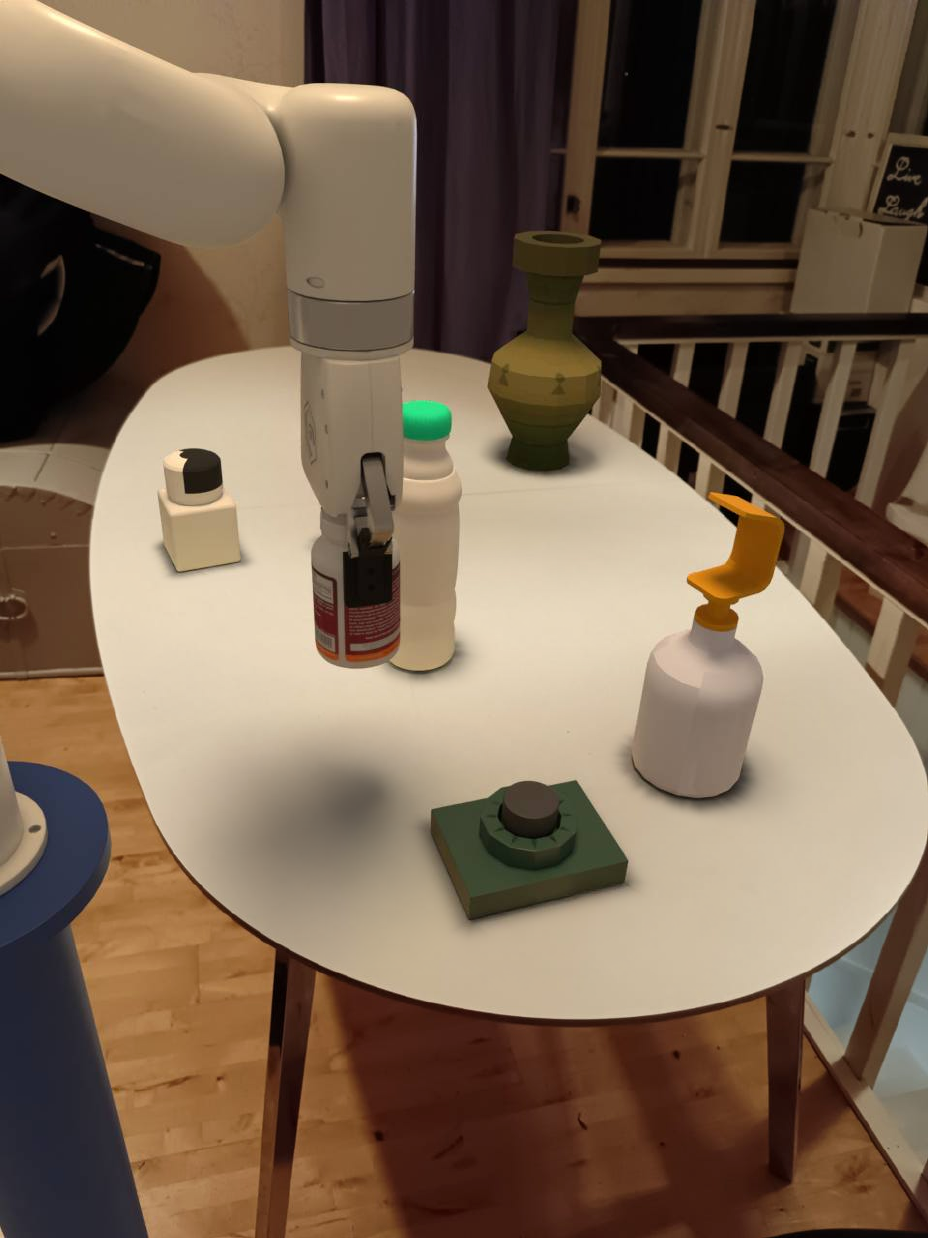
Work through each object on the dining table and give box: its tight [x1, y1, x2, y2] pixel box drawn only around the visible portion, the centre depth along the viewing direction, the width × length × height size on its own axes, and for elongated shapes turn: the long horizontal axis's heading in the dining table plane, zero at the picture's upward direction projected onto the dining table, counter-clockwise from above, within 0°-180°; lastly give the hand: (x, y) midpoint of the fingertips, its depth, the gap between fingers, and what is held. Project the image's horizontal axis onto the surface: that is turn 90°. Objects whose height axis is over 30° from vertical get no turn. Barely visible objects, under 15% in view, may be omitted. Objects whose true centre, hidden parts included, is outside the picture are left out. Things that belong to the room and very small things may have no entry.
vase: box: [487, 230, 602, 473], centre depth 130 cm, size 16×16×30 cm
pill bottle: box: [310, 498, 401, 670], centre depth 67 cm, size 6×6×11 cm
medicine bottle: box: [156, 447, 241, 573], centre depth 106 cm, size 7×7×12 cm
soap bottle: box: [630, 491, 785, 799], centre depth 74 cm, size 9×9×25 cm
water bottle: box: [388, 399, 463, 672], centre depth 87 cm, size 7×7×25 cm
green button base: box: [430, 779, 629, 920], centre depth 70 cm, size 12×9×4 cm
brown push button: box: [502, 780, 559, 839], centre depth 69 cm, size 4×4×2 cm
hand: (356, 576), depth 67 cm, fingers closed on pill bottle, 6 cm apart
